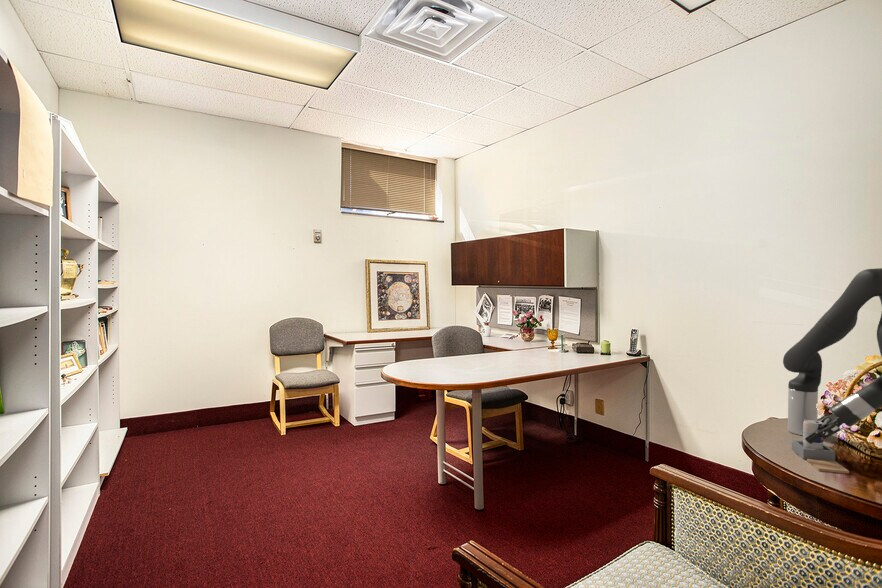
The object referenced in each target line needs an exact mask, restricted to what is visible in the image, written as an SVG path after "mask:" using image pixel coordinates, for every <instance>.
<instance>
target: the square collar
mask: <svg viewBox="0 0 882 588" xmlns="http://www.w3.org/2000/svg"><path fill="white" fill-rule="evenodd" d="M791 451H793V452H794V453H795V454H796V455H797V456H799V457H800V458H801V459H802V460H805V461H807V459H815V460H826V461H836V451H835V450H833V448H830V447H829V446H828V445H826V444H825V443H824V442H823V450H819V449H807V448H804V447H803V440H796V439H792V440H791Z"/></svg>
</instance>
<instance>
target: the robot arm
mask: <svg viewBox="0 0 882 588" xmlns="http://www.w3.org/2000/svg"><path fill="white" fill-rule="evenodd" d="M874 297H879V300H880V304H881V306H882V267H881V268H866V269H863V270H862V271H861V270H860V271H859V272H858V273H857V274H856V275H855V276H854V277H853V278H852V279H851V281H850V283H849V284H848V285H847V286H846V288H845V290H844V291H843V293H842V294H841V296H839V298H838V299H837V300H836V301H835V302H834V303H833V305H832V306H831V307H830V308H829V309H828V310H827V311H826V312H825V313H824V314H823V315H822V316H821V317H820V318H819V319H818V321H817V322H816V323H815V324H814V325H813V327H812V328H810V330H808V332H807V333H806V334H805V335H804V336H803V337H802V338H801V339H800V340H799V341H798V342H796V343H795V344H794V345H793V346H791V347H790V348H789V349H788V350H787V351H786V352H785V353H784V356H783V357H782V364H783V366H784V368H785V369H786V370H787V371H788V372H791V373H798V375H796V376H795V377H794V378H792V379H790V380H789V381H788V385H787V387H788V388H787V390H788V393H787V394H788V395H787V396H788V397H787V401H788V402H787V431H788V432H790V433H792V434H795V435H799V436H803V422H804V420H806V419H812V420H817V421H821V422H822V424H821V425H820V426H819V429H818V430H816V431H815V432H814V433H812V434H811V435H809V436H807V437H806V438H805V439H806V441H807V442H809V443H810V444H812V443H813V442H815V441H816V440H818V439H820V438H823V440H826V439H827V438H829V437H831V436H832V435H834V434H836V433H839V432H840V431H841V428H840V427H841V426H843V424H844V425H846V426H847V427H849V428H851V427H852V426H854V425H856V424H857V423H859V422H860V421H862V420H864V419H865V418H867V417H869V416H870V415H871V414H873V413H874V412H875V411H877V410H878V409H880V408H881V407H882V374H881V375H879V376H878V377H877V378H876V379H874V380H873V381H872V382H871V383H869V384H867V385H865V386H863V387H862V388H860V389H858V390H857V391H856V392H854V393H851V394H850V395H848V396H846V397H844V398H843V399H841V400H840V401H838V402H836V404H833V406H831V407H829V410H830V411H831V414H829V413H825V414H823V415H821V417H820V418H818V413H819V411H818V410H817V408H816V404H817V403H818V404H819V402H818V401H819V386H820V385H821V382H822V371H823V370H822V369H823V360H822V356H821V355H820V353H819V352H820V351H823V350H824V349H826V348H829V347H830V346H832V345H834V344H836V343H838V342H840V341H842V340H843V339H844V338H846V336H847V335H849V333H850V332H851V331H853V329H854V328H855V327H856V325H857V321H858V315H859V311H860V310H861V308H863V307H864V305H865V304H867V303H868V302H869V300H871V299H872V298H874ZM876 340H877V344H878V345H877V346H878V349H879V354H880V357H882V312H881V314H880V318H879V322H878V324H877V329H876ZM822 432H823V433H822Z"/></svg>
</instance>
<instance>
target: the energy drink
mask: <svg viewBox="0 0 882 588" xmlns="http://www.w3.org/2000/svg"><path fill="white" fill-rule="evenodd" d="M817 420H818V419H817ZM817 420H812V419H806V420H804V422H803V435H802V438H803V439H802V441H803V447H804V448H807V449H819V450H823V443H824V439H823V438H820V439H818V440H816V441H815V442H813V443H812V444H810V443H809V442H807V441H806V439H805V438H806V437H807V436H809V435H811V434H812V433H814V432H815V431H816V430H818V429H819V426H820V425H821V424H822V422H821V421H817ZM822 433H824V432H822Z"/></svg>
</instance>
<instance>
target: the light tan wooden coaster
mask: <svg viewBox="0 0 882 588" xmlns="http://www.w3.org/2000/svg"><path fill="white" fill-rule="evenodd" d="M806 461H807V462H808V464H810V465H811V466H812V467H813V468H815V469H816V470H817V471H818V472H825V473H827V472H829V473H836V474H837V473H838V474H850V471H849V470H848V469H847V468H846V467H844V466H843V465H842V464H841V463H839V462H838V461H836V460H835V461H826V460H815V459H807V460H806Z"/></svg>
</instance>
